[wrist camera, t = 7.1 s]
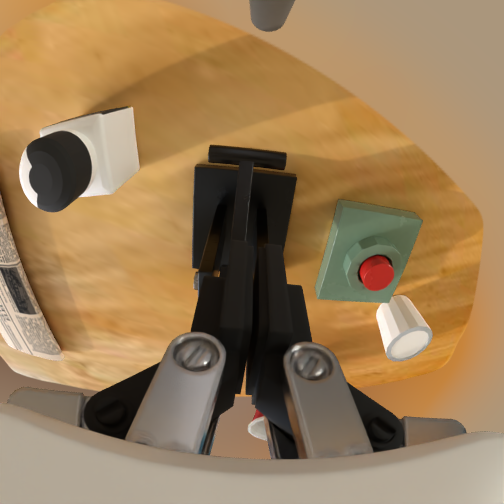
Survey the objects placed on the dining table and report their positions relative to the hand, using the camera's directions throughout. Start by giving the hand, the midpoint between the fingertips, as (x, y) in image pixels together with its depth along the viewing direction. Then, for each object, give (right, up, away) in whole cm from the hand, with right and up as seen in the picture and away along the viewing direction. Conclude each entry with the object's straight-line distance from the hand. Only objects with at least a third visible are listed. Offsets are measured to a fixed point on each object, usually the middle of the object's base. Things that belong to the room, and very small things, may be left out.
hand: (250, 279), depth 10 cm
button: (+13, -1, +21) cm, 25 cm away
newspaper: (-44, -2, +27) cm, 52 cm away
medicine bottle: (-15, +13, +17) cm, 26 cm away
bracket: (-1, +4, +22) cm, 22 cm away
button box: (+13, +1, +24) cm, 27 cm away
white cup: (+20, -7, +29) cm, 36 cm away
